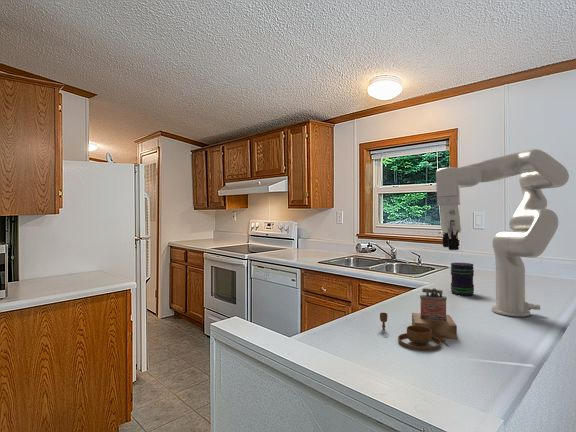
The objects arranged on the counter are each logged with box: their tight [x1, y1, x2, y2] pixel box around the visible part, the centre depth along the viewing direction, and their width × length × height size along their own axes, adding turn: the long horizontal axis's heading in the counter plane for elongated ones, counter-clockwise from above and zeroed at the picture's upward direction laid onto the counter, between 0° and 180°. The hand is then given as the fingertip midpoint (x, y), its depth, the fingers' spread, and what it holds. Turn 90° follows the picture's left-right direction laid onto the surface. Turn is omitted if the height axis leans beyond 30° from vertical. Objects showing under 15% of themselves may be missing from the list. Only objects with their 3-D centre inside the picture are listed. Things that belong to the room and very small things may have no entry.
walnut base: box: [411, 312, 458, 340], centre depth 113 cm, size 12×12×4 cm
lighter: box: [419, 287, 447, 321], centre depth 113 cm, size 8×3×10 cm, turn 71°
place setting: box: [379, 312, 450, 352], centre depth 106 cm, size 18×20×6 cm
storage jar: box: [450, 262, 475, 297], centre depth 165 cm, size 10×10×15 cm
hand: (450, 248), depth 126 cm, fingers open, 9 cm apart
